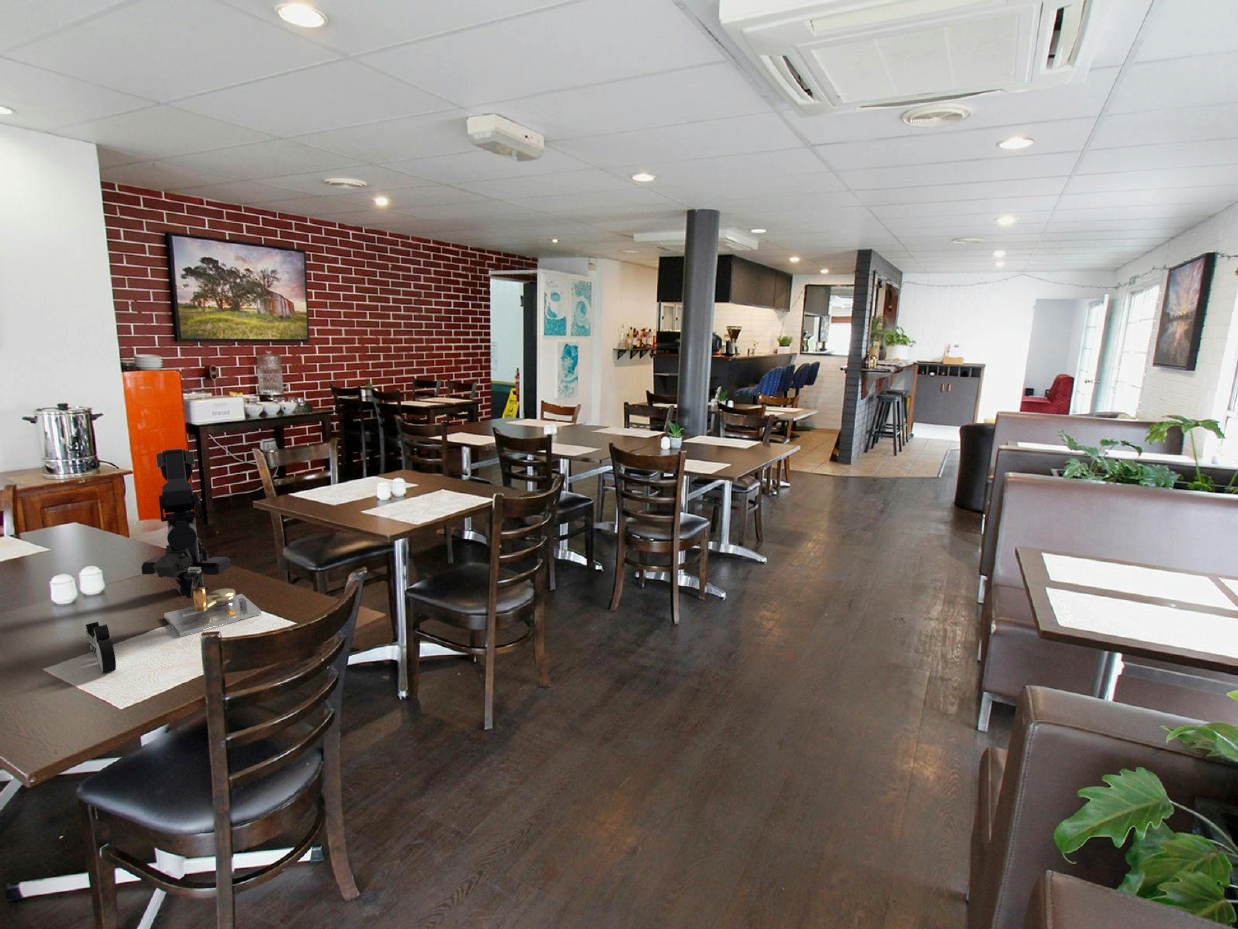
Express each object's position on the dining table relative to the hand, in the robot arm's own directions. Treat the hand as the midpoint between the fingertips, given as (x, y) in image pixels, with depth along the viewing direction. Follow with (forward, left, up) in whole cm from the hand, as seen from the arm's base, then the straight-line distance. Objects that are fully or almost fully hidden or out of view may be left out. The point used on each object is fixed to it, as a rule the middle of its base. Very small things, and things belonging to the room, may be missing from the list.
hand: (190, 597), depth 161 cm
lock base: (0, +4, -6) cm, 8 cm away
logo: (+7, -19, -7) cm, 22 cm away
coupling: (-1, +5, -3) cm, 6 cm away
